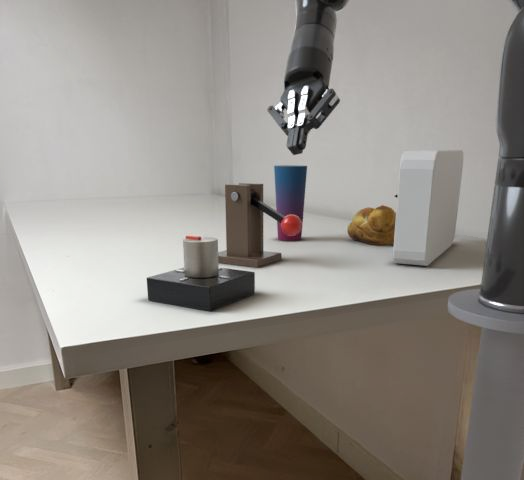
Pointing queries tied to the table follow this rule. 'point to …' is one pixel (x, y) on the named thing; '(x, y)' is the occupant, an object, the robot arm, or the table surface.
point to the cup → (290, 195)
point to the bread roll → (373, 226)
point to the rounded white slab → (426, 205)
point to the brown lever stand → (245, 228)
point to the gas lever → (279, 216)
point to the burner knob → (200, 256)
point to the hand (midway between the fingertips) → (295, 151)
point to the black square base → (201, 288)
